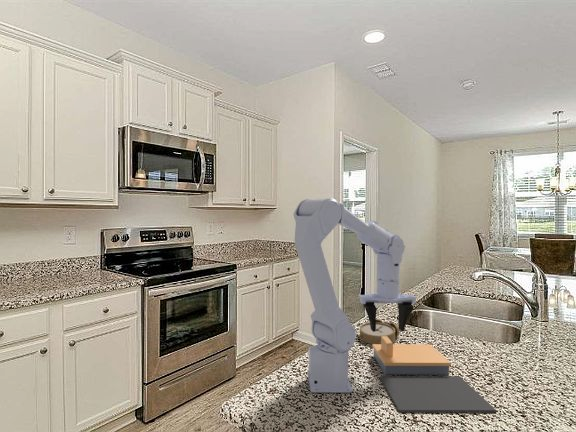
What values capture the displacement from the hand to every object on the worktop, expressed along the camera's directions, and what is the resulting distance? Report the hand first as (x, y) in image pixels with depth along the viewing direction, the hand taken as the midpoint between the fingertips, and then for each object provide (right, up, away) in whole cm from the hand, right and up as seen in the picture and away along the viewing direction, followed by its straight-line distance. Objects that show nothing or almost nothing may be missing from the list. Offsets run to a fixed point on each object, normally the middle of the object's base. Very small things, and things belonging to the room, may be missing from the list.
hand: (387, 330), depth 89 cm
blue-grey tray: (+6, -9, 0) cm, 11 cm away
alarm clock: (+4, -10, +20) cm, 23 cm away
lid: (+6, -7, 0) cm, 9 cm away
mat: (+6, -10, -14) cm, 18 cm away
